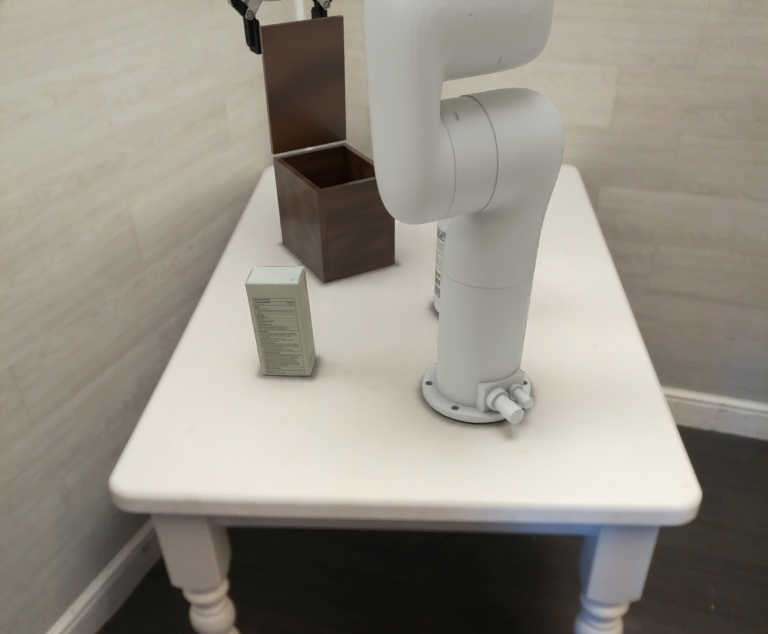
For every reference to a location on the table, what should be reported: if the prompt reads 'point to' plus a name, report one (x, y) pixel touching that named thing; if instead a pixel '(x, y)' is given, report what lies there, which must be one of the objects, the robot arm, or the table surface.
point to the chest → (333, 212)
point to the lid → (304, 82)
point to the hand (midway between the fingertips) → (288, 47)
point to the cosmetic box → (281, 319)
